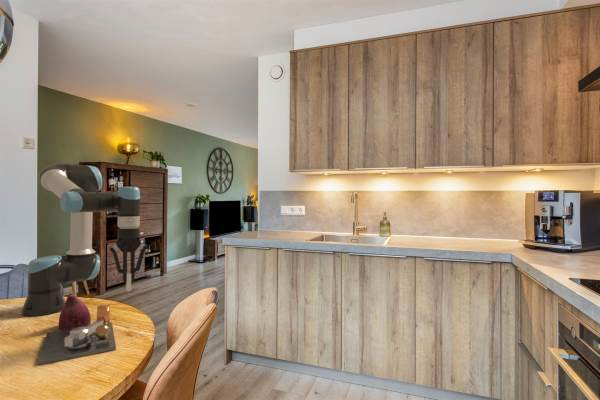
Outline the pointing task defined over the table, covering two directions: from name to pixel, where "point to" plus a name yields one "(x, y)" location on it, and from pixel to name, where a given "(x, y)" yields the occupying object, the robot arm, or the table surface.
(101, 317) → the lever
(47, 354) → the base
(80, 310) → the vegetable
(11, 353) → the table surface
